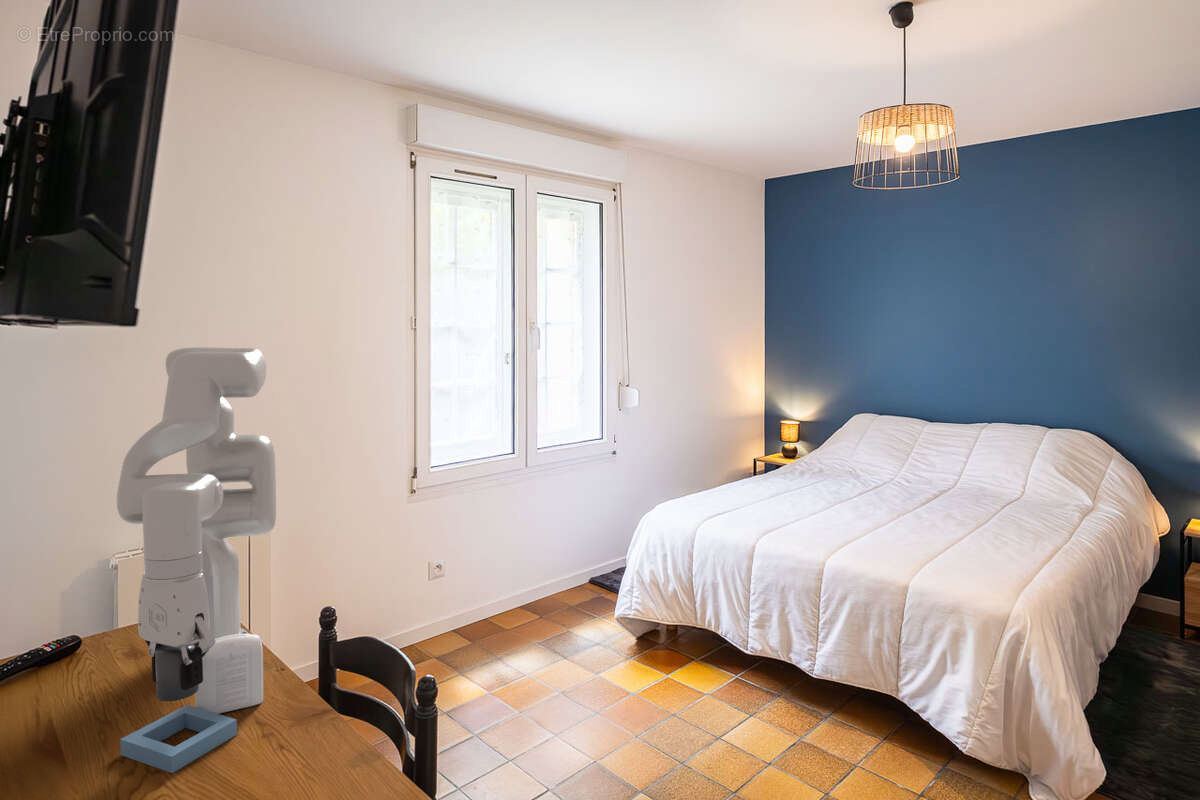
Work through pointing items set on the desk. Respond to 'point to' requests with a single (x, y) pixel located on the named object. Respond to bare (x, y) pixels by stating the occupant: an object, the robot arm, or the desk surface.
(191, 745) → the collar
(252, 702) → the photo printer
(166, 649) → the dark grey cylinder
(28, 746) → the desk surface
